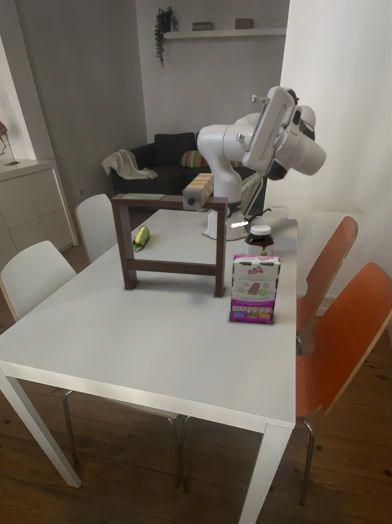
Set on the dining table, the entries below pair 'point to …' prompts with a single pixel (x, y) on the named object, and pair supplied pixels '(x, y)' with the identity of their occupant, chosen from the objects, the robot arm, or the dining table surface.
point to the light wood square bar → (198, 192)
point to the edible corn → (140, 237)
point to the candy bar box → (254, 288)
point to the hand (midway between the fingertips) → (244, 117)
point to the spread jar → (259, 241)
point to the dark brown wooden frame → (134, 265)
